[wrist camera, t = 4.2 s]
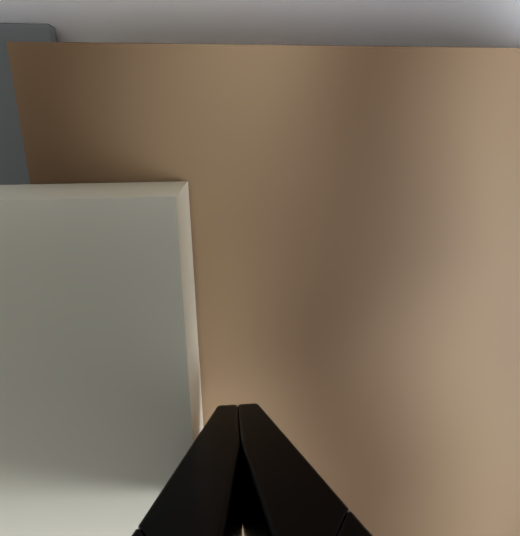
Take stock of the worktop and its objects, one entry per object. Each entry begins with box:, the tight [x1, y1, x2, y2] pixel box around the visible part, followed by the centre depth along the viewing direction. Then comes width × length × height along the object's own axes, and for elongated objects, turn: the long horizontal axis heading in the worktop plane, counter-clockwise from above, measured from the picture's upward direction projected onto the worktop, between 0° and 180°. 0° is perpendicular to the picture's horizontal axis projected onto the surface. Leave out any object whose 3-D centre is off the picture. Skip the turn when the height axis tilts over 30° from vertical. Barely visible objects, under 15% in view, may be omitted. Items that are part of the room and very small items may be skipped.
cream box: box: [0, 181, 203, 536], centre depth 8 cm, size 6×9×2 cm, turn 1°
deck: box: [6, 42, 520, 536], centre depth 13 cm, size 14×22×4 cm, turn 0°
